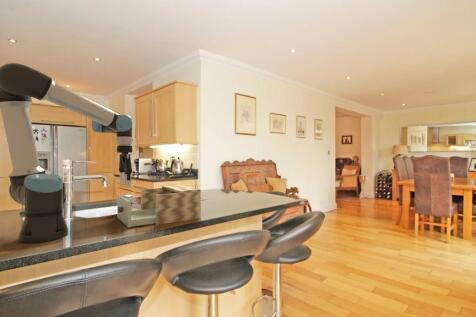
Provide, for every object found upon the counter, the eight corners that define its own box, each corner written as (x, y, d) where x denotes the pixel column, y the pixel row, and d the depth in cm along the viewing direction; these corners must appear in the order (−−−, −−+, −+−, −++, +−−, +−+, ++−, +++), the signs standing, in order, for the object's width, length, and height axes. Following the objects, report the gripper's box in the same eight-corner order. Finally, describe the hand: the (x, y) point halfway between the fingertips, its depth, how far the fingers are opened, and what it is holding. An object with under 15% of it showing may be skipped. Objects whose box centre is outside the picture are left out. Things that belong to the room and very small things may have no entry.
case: (156, 224, 119) (156, 192, 119) (141, 214, 140) (140, 187, 140) (200, 218, 131) (200, 189, 131) (180, 210, 152) (180, 184, 152)
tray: (124, 228, 113) (123, 202, 112) (113, 217, 131) (113, 195, 131) (176, 220, 125) (176, 197, 125) (160, 212, 144) (160, 192, 144)
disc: (118, 201, 138) (118, 197, 138) (115, 199, 144) (115, 195, 144) (134, 200, 142) (134, 195, 142) (130, 198, 149) (130, 193, 149)
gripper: (138, 144, 135) (139, 187, 135) (126, 145, 155) (127, 183, 156) (122, 144, 131) (122, 188, 131) (112, 145, 151) (113, 184, 152)
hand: (125, 185), depth 143 cm, fingers open, 13 cm apart
